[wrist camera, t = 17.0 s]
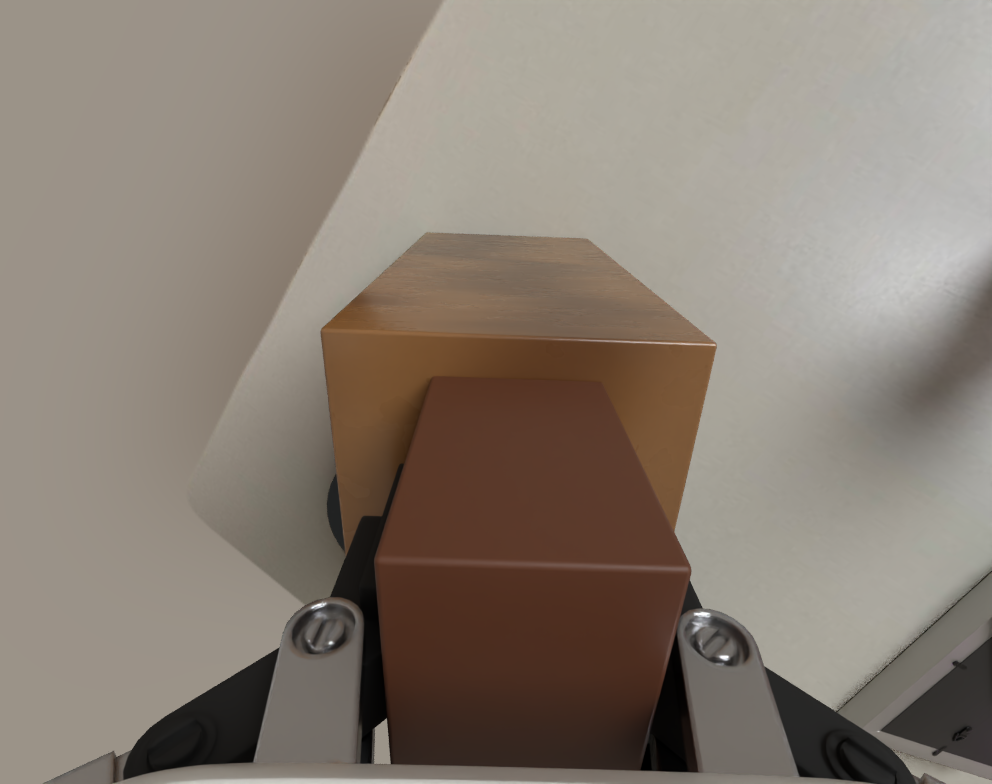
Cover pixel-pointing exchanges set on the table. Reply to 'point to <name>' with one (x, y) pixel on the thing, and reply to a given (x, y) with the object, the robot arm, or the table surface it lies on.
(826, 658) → the table surface
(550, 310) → the wooden block
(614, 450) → the brown rectangular block
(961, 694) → the picture frame
